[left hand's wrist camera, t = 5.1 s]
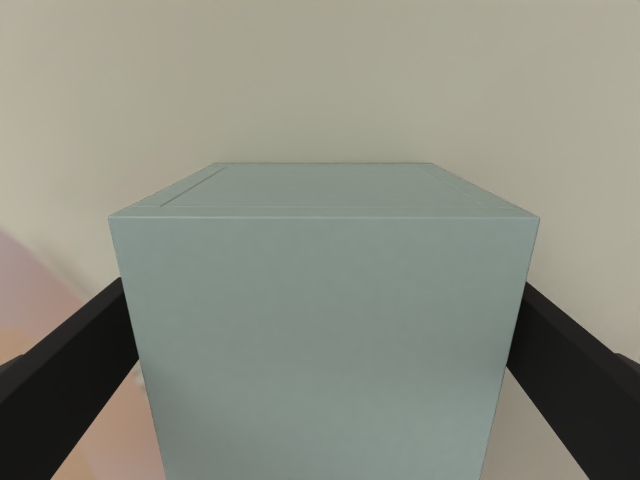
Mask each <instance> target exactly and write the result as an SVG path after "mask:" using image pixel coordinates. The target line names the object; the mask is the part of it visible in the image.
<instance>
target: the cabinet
mask: <svg viewBox="0 0 640 480" xmlns="http://www.w3.org/2000/svg"><path fill="white" fill-rule="evenodd" d="M108 221H109V225H110V230H111V234H112V239H113V243H114V248H115V252H116V257H117V261H118V266H119V270H120V275H121V279H122V283H123V288H124V292H125V297H126V301H127V306H128V310H129V315H130V319H131V324H132V328H133V332H134V337H135V341H136V346H137V350H138V355H139V359H140V364H141V368H142V373H143V377H144V382H145V386H146V390H147V395H148V399H149V404H150V408H151V413H152V417H153V422H154V426H155V431H156V435H157V439H158V444H159V448H160V453H161V457H162V462H163V466H164V470H165V475H166V480H480V475H481V471H482V467H483V463H484V458H485V454H486V450H487V445H488V441H489V437H490V432H491V428H492V424H493V420H494V415H495V411H496V407H497V402H498V398H499V394H500V390H501V385H502V381H503V377H504V372H505V368H506V364H507V360H508V355H509V351H510V347H511V342H512V338H513V334H514V329H515V325H516V321H517V317H518V312H519V308H520V304H521V299H522V295H523V291H524V287H525V282H526V278H527V274H528V269H529V265H530V261H531V256H532V252H533V248H534V244H535V239H536V235H537V231H538V226H539V222H540V217H538V216H536V215H534V214H532V213H530V212H528V211H526V210H524V209H522V208H519V207H518V206H516V205H514V204H512V203H510V202H508V201H506V200H504V199H502V198H500V197H498V196H496V195H494V194H492V193H490V192H488V191H486V190H484V189H482V188H480V187H478V186H476V185H474V184H472V183H470V182H468V181H466V180H464V179H462V178H460V177H458V176H456V175H454V174H452V173H450V172H448V171H446V170H444V169H442V168H440V167H438V166H436V165H434V164H432V163H214V164H212V165H210V166H208V167H206V168H204V169H202V170H200V171H198V172H196V173H194V174H192V175H190V176H188V177H187V178H185V179H183V180H181V181H179V182H177V183H175V184H173V185H171V186H169V187H167V188H165V189H163V190H161V191H159V192H157V193H155V194H153V195H151V196H149V197H147V198H145V199H143V200H141V201H139V202H137V203H135V204H133V205H131V206H129V207H126V208H124V209H122V210H120V211H118V212H116V213H114V214H112V215H110V216H108Z"/></svg>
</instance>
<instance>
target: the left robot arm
mask: <svg viewBox="0 0 640 480" xmlns="http://www.w3.org/2000/svg"><path fill="white" fill-rule="evenodd" d="M138 360H139V355H138V350H137V346H136V341H135V337H134V332H133V328H132V324H131V319H130V315H129V310H128V306H127V301H126V297H125V292H124V288H123V283H122V279H121V277H118V278H117V279H116V280H115V281H114V282H112V283H111V284H110V285H109V286H107V287H106V288H105V289H104V290H103V291H101V292H100V293H99V294H98V295H96V296H95V297H94V298H93V299H92V300H90V301H89V302H88V303H87V304H85V305H84V306H83V307H82V308H80V309H79V310H78V311H77V312H76V313H74V314H73V315H72V316H71V317H69V318H68V319H67V320H66V321H65V322H63V323H62V324H61V325H60V326H59V327H57V328H56V329H55V330H54V331H52V332H51V333H50V334H49V335H47V336H46V337H45V338H44V339H43V340H41V341H40V342H39V343H38V344H36V345H35V346H34V347H33V348H32V349H30V350H29V351H28V352H27V353H25V354H24V355H19V356H17V357H16V358H14V359H12V360H10V361H8V362H6V363H5V364H3V365H1V366H0V480H50V479H51V478H52V477H53V475H54V474H55V472H56V471H57V470H58V468H59V467H60V466H61V464H62V463H63V462H64V460H65V459H66V458H67V456H68V455H69V453H70V452H71V451H72V449H73V448H74V447H75V445H76V444H77V443H78V441H79V440H80V438H81V437H82V436H83V434H84V433H85V432H86V430H87V429H88V428H89V426H90V425H91V424H92V422H93V421H94V419H95V418H96V417H97V415H98V414H99V413H100V411H101V410H102V409H103V407H104V406H105V404H106V403H107V402H108V400H109V399H110V398H111V396H112V395H113V394H114V392H115V391H116V390H117V388H118V387H119V385H120V384H121V383H122V381H123V380H124V379H125V377H126V376H127V375H128V373H129V372H130V370H131V369H132V368H133V366H134V365H135V364H136V362H137V361H138ZM506 366H507V368H508V369H509V370H510V372H511V373H512V375H513V376H514V377H515V379H516V380H517V381H518V383H519V384H520V385H521V387H522V388H523V390H524V391H525V392H526V394H527V395H528V396H529V398H530V399H531V400H532V402H533V403H534V404H535V406H536V407H537V409H538V410H539V411H540V413H541V414H542V415H543V417H544V418H545V419H546V421H547V422H548V424H549V425H550V426H551V428H552V429H553V430H554V432H555V433H556V434H557V436H558V437H559V438H560V440H561V441H562V443H563V444H564V445H565V447H566V448H567V449H568V451H569V452H570V453H571V455H572V456H573V458H574V459H575V460H576V462H577V463H578V464H579V466H580V467H581V468H582V470H583V471H584V472H585V474H586V475H587V477H588V478H589V479H590V480H640V364H638V363H636V362H635V361H633V360H631V359H629V358H627V357H625V356H623V355H622V354H620V353H613V352H612V351H611V350H610V349H608V348H607V347H606V346H605V345H604V344H602V343H601V342H600V341H599V340H597V339H596V338H595V337H594V336H593V335H591V334H590V333H589V332H588V331H586V330H585V329H584V328H583V327H582V326H580V325H579V324H578V323H577V322H575V321H574V320H573V319H572V318H571V317H569V316H568V315H567V314H566V313H564V312H563V311H562V310H561V309H560V308H558V307H557V306H556V305H555V304H553V303H552V302H551V301H550V300H548V299H547V298H546V297H545V296H544V295H542V294H541V293H540V292H539V291H537V290H536V289H535V288H534V287H533V286H531V285H530V284H529V283H528V282H525V287H524V291H523V295H522V299H521V304H520V308H519V312H518V317H517V321H516V325H515V329H514V334H513V338H512V342H511V347H510V351H509V355H508V360H507V364H506Z"/></svg>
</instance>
